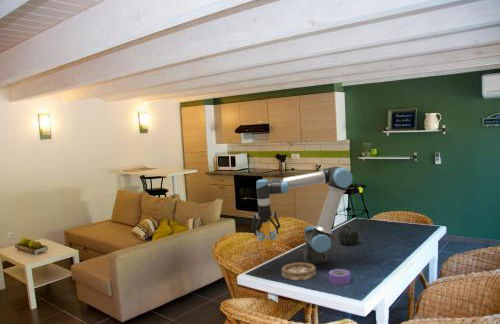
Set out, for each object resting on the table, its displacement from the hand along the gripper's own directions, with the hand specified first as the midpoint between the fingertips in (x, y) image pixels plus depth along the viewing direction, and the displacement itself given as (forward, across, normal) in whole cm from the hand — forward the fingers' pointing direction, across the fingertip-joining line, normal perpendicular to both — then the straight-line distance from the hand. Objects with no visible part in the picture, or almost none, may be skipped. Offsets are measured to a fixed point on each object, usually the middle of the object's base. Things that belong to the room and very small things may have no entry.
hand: (267, 240), depth 257 cm
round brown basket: (+21, -16, +9) cm, 28 cm away
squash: (+22, -66, -43) cm, 81 cm away
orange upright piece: (+4, 0, 0) cm, 4 cm away
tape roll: (+21, -36, +26) cm, 50 cm away
